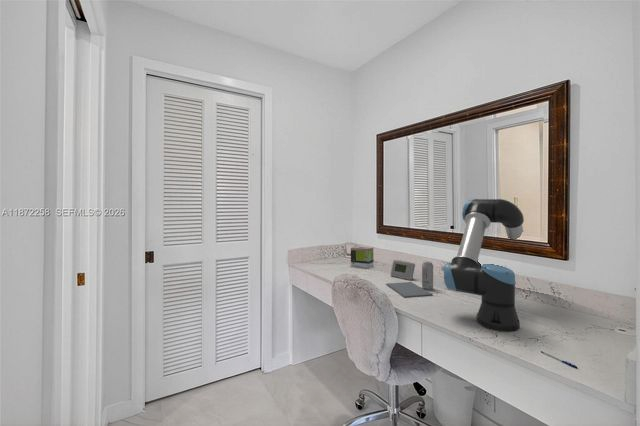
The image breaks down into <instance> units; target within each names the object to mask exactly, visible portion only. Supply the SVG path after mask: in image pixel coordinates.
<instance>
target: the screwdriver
mask: <svg viewBox="0 0 640 426" xmlns="http://www.w3.org/2000/svg"><path fill="white" fill-rule="evenodd" d="M540 353H541V354H544V355H545V356H547V357H550V358H552V359H554V360H556V361H559V362H560V363H562V364H565V365H566V366H569V367H571V368H573V369H577V370H578V366H576V365H575V364H573V363H571V362H569V361H567V360H566V361H565V360H562V359H560V358H558V357H556V356H554V355H552V354H550V353H547V352H544V351H540Z"/></svg>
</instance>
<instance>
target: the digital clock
mask: <svg viewBox="0 0 640 426" xmlns="http://www.w3.org/2000/svg"><path fill="white" fill-rule="evenodd" d="M391 265H392V266H391V270H390V276H391V277H394V278H396V279H402V280H408V281H413V278H414V273H415V268H416V267H415V266H416V264H415V262H411V261H404V260H399V259H398V260H397V259H393V262H392V264H391Z"/></svg>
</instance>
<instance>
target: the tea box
mask: <svg viewBox="0 0 640 426" xmlns="http://www.w3.org/2000/svg"><path fill="white" fill-rule="evenodd" d="M374 258H375V257H374V247H372V246H360V245H358V246H356V245H355V246H353V247H350V267H353V268H365V269H370V268H372V267H374V266H375V265H374V261H375V259H374Z"/></svg>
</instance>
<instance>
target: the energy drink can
mask: <svg viewBox="0 0 640 426" xmlns="http://www.w3.org/2000/svg"><path fill="white" fill-rule="evenodd" d="M421 275H422V276H421V288H423V289H425V290H426V291H430V290H433V288H434V264H433V262H432V261H423V263H422V265H421Z"/></svg>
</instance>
